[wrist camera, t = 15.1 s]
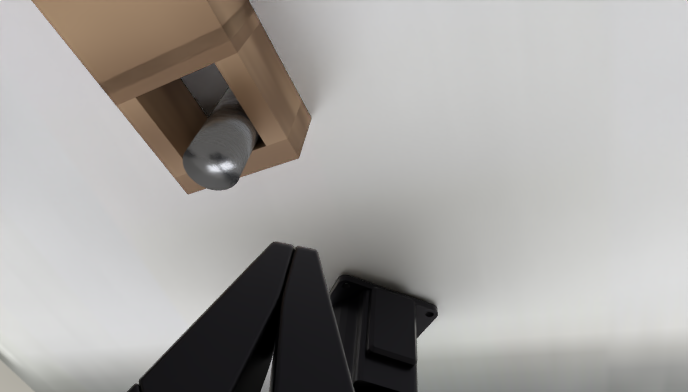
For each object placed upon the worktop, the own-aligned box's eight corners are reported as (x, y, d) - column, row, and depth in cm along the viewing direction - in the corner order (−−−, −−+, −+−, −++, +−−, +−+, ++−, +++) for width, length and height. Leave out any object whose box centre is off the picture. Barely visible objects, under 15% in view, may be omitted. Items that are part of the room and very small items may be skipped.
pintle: (268, 122, 20) (233, 197, 16) (225, 105, 20) (178, 178, 16) (280, 84, 19) (246, 156, 15) (235, 66, 19) (187, 133, 15)
